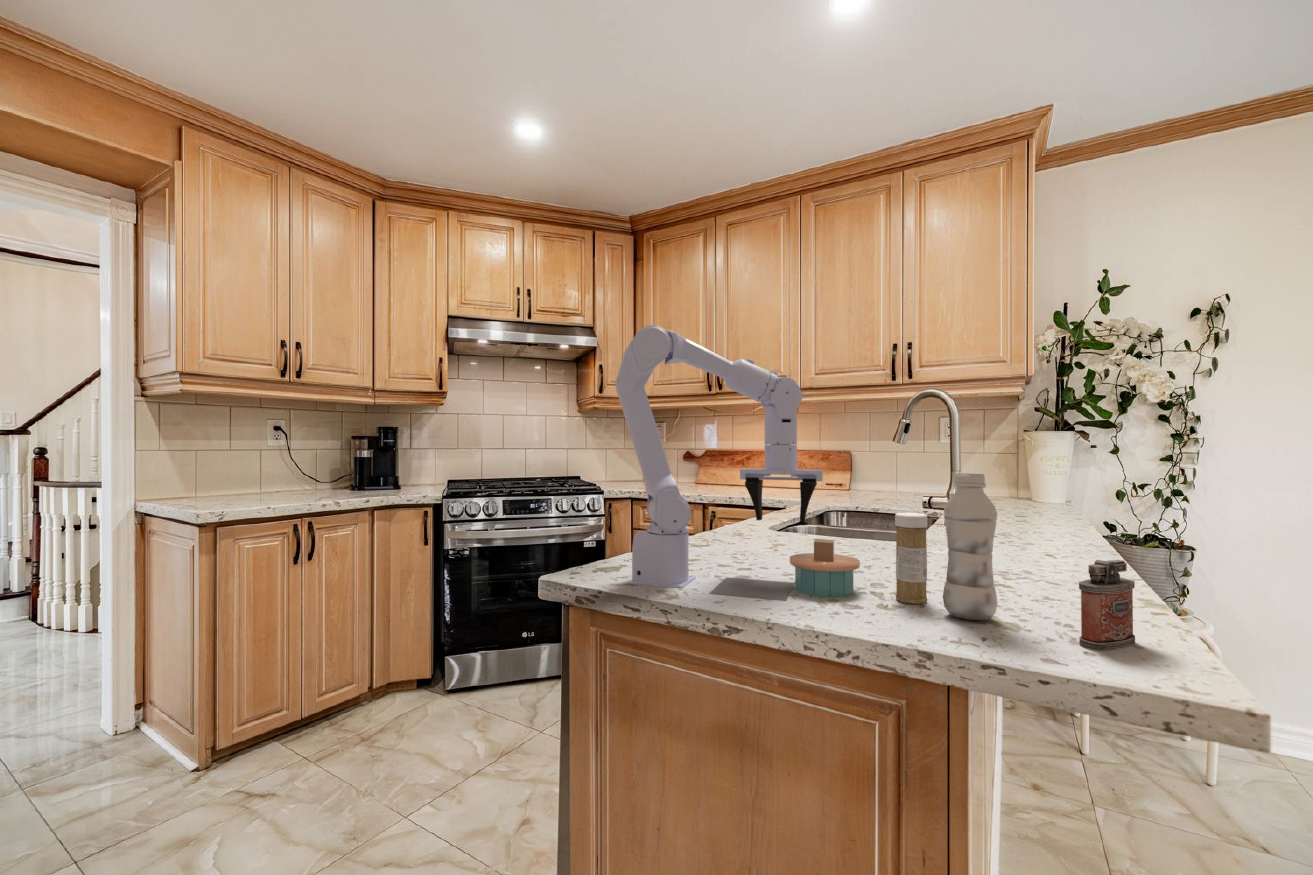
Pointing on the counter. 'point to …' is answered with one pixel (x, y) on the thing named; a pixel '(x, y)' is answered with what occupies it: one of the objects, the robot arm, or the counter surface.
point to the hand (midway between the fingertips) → (780, 520)
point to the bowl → (824, 582)
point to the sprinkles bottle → (911, 557)
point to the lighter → (1106, 607)
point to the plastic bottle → (970, 550)
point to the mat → (754, 588)
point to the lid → (824, 558)
